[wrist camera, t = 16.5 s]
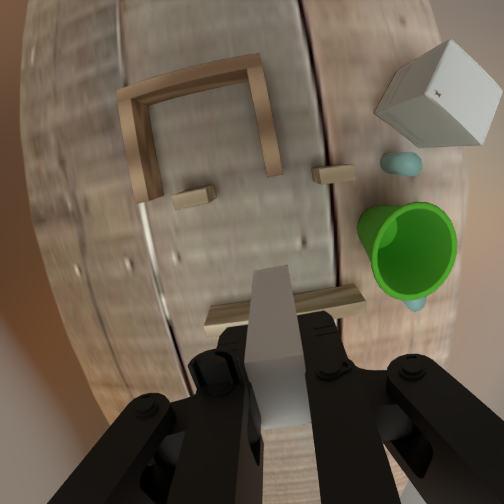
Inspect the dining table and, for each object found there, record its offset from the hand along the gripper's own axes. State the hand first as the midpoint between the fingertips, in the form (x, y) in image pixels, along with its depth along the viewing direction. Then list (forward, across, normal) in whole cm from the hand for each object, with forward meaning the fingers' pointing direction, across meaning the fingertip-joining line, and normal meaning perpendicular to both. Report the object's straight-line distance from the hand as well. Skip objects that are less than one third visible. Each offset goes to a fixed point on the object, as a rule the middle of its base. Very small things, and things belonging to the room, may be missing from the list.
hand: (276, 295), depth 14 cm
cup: (+22, +12, -4) cm, 26 cm away
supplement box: (+23, +19, +10) cm, 31 cm away
